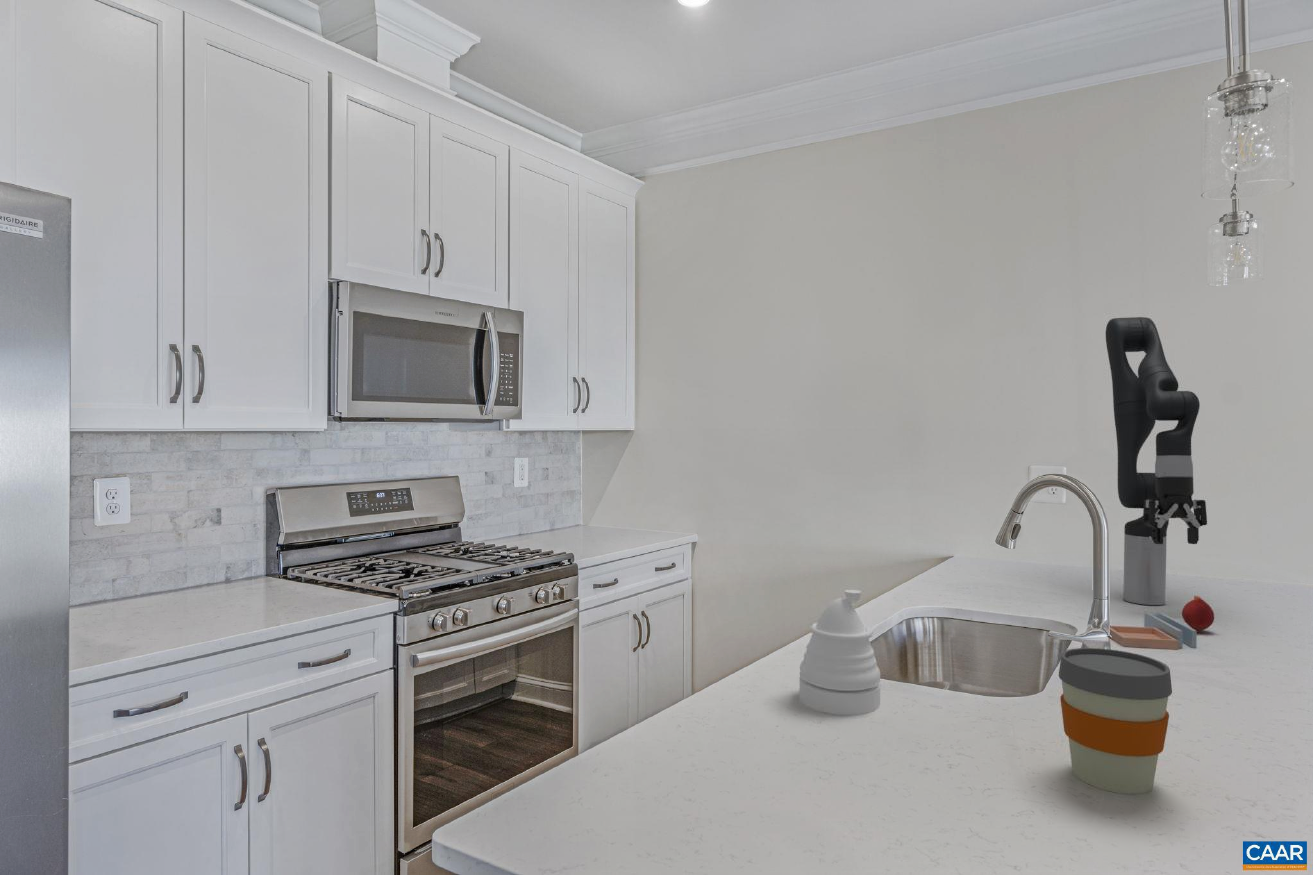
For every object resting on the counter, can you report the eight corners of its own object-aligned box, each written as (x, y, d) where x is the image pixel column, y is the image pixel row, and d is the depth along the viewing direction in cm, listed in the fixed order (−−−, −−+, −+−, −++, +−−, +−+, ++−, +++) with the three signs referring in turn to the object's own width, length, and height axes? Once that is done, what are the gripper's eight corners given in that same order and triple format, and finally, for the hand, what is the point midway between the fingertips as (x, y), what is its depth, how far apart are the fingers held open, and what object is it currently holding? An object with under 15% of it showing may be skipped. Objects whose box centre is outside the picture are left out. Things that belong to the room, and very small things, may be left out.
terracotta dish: (1104, 633, 171) (1104, 625, 171) (1155, 636, 169) (1155, 627, 169) (1123, 646, 161) (1123, 637, 161) (1178, 649, 159) (1178, 640, 159)
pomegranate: (1204, 628, 176) (1204, 593, 175) (1219, 635, 170) (1220, 598, 170) (1176, 627, 176) (1177, 592, 176) (1191, 634, 170) (1192, 598, 170)
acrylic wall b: (1144, 628, 176) (1144, 612, 176) (1148, 628, 176) (1148, 612, 176) (1178, 648, 160) (1178, 630, 160) (1182, 648, 160) (1182, 631, 160)
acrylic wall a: (1156, 627, 176) (1157, 612, 176) (1160, 627, 176) (1161, 612, 176) (1192, 647, 161) (1192, 630, 161) (1196, 647, 160) (1196, 630, 160)
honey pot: (879, 691, 133) (881, 585, 132) (880, 718, 120) (881, 601, 120) (802, 684, 136) (804, 580, 136) (795, 710, 124) (796, 596, 123)
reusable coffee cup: (1042, 776, 101) (1044, 660, 101) (1075, 748, 110) (1077, 641, 109) (1155, 811, 92) (1157, 684, 92) (1181, 778, 101) (1183, 662, 100)
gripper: (1190, 475, 190) (1191, 542, 190) (1134, 474, 189) (1135, 542, 188) (1214, 475, 183) (1216, 545, 182) (1157, 475, 182) (1158, 545, 181)
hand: (1175, 543), depth 185 cm, fingers open, 8 cm apart
